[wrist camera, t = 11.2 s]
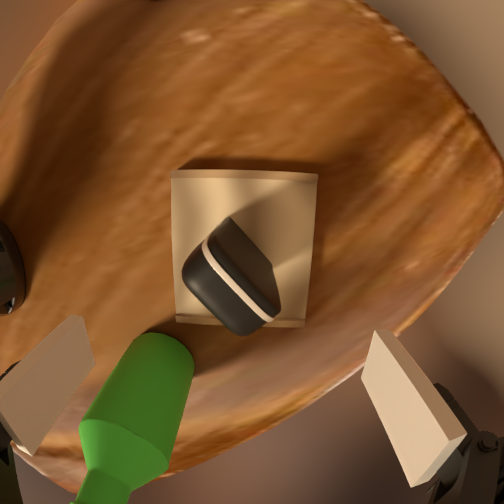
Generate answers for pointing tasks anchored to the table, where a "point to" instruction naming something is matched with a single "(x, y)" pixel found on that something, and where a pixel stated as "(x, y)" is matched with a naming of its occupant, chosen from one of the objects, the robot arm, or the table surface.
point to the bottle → (135, 419)
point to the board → (247, 230)
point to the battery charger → (233, 279)
